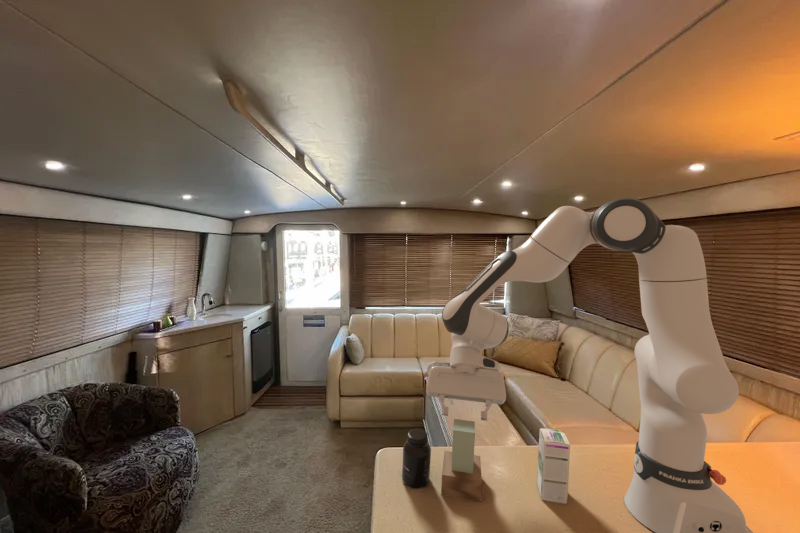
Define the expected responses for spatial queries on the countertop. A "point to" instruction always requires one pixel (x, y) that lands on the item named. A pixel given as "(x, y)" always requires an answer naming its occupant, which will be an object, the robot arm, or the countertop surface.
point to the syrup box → (553, 465)
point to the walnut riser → (461, 480)
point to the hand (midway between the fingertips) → (464, 417)
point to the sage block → (463, 446)
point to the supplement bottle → (416, 459)
